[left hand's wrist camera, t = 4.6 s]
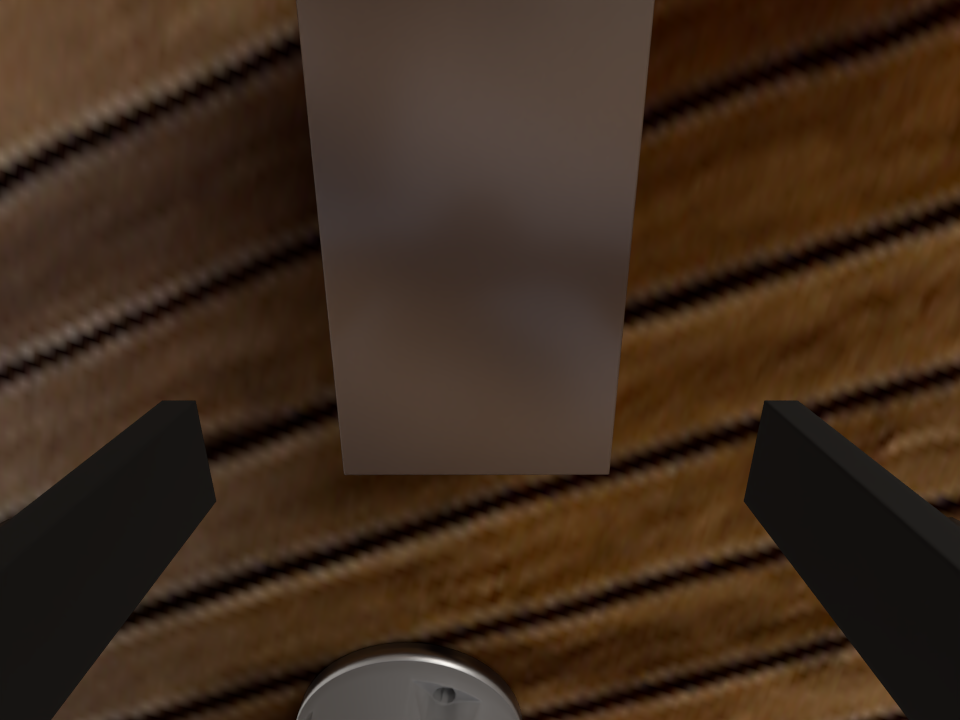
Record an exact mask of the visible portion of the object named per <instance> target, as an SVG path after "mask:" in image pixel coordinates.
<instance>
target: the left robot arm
mask: <svg viewBox="0 0 960 720" xmlns="http://www.w3.org/2000/svg"><path fill="white" fill-rule="evenodd" d="M215 502H216V498H215V493H214V488H213V483H212V478H211V474H210V469H209V464H208V459H207V454H206V449H205V444H204V440H203V435H202V430H201V425H200V420H199V415H198V410H197V405H196V401H161V402H160V403H159V404H157V405H156V406H155V407H154V408H152V409H151V410H150V411H148V412H147V413H146V414H145V415H143V416H142V417H141V418H139V419H138V420H137V421H136V422H134V423H133V424H132V425H131V426H129V427H128V428H127V429H125V430H124V431H123V432H122V433H120V434H119V435H118V436H116V437H115V438H114V439H113V440H111V441H110V442H109V443H107V444H106V445H105V446H104V447H102V448H101V449H100V450H99V451H97V452H96V453H95V454H93V455H92V456H91V457H90V458H88V459H87V460H86V461H84V462H83V463H82V464H81V465H79V466H78V467H77V468H76V469H74V470H73V471H72V472H70V473H69V474H68V475H67V476H65V477H64V478H63V479H61V480H60V481H59V482H58V483H56V484H55V485H54V486H52V487H51V488H50V489H49V490H47V491H46V492H45V493H44V494H42V495H41V496H40V497H38V498H37V499H36V500H35V501H33V502H32V503H31V504H29V505H28V506H27V507H26V508H24V509H23V510H22V511H20V512H19V513H18V514H17V515H15V516H14V517H13V518H12V519H8V520H6V521H4V522H2V523H0V720H51V719H52V718H53V716H54V715H55V714H56V712H57V711H58V710H59V708H60V707H61V706H62V704H63V703H64V702H65V701H66V699H67V698H68V697H69V695H70V694H71V693H72V691H73V690H74V689H75V687H76V686H77V685H78V683H79V682H80V681H81V679H82V678H83V677H84V675H85V674H86V673H87V671H88V670H89V669H90V667H91V666H92V665H93V663H94V662H95V661H96V660H97V658H98V657H99V656H100V654H101V653H102V652H103V650H104V649H105V648H106V646H107V645H108V644H109V642H110V641H111V640H112V638H113V637H114V636H115V634H116V633H117V632H118V630H119V629H120V628H121V626H122V625H123V624H124V622H125V621H126V620H127V619H128V617H129V616H130V615H131V613H132V612H133V611H134V609H135V608H136V607H137V605H138V604H139V603H140V601H141V600H142V599H143V597H144V596H145V595H146V593H147V592H148V591H149V589H150V588H151V587H152V585H153V584H154V583H155V581H156V580H157V579H158V578H159V576H160V575H161V574H162V572H163V571H164V570H165V568H166V567H167V566H168V564H169V563H170V562H171V560H172V559H173V558H174V556H175V555H176V554H177V552H178V551H179V550H180V548H181V547H182V546H183V544H184V543H185V542H186V540H187V539H188V538H189V537H190V535H191V534H192V533H193V531H194V530H195V529H196V527H197V526H198V525H199V523H200V522H201V521H202V519H203V518H204V517H205V515H206V514H207V513H208V511H209V510H210V509H211V507H212V506H213V505H214V503H215ZM744 502H745V503H746V505H747V506H748V507H749V509H750V510H751V511H752V513H753V514H754V515H755V517H756V518H757V519H758V521H759V522H760V523H761V525H762V526H763V527H764V529H765V530H766V531H767V533H768V534H769V535H770V537H771V538H772V539H773V540H774V542H775V543H776V544H777V546H778V547H779V548H780V550H781V551H782V552H783V554H784V555H785V556H786V558H787V559H788V560H789V562H790V563H791V564H792V566H793V567H794V568H795V570H796V571H797V572H798V574H799V575H800V576H801V578H802V579H803V580H804V581H805V583H806V584H807V585H808V587H809V588H810V589H811V591H812V592H813V593H814V595H815V596H816V597H817V599H818V600H819V601H820V603H821V604H822V605H823V607H824V608H825V609H826V611H827V612H828V613H829V615H830V616H831V617H832V619H833V620H834V621H835V622H836V624H837V625H838V626H839V628H840V629H841V630H842V632H843V633H844V634H845V636H846V637H847V638H848V640H849V641H850V642H851V644H852V645H853V646H854V648H855V649H856V650H857V652H858V653H859V654H860V656H861V657H862V658H863V660H864V661H865V662H866V663H867V665H868V666H869V667H870V669H871V670H872V671H873V673H874V674H875V675H876V677H877V678H878V679H879V681H880V682H881V683H882V685H883V686H884V687H885V689H886V690H887V691H888V693H889V694H890V695H891V697H892V698H893V699H894V701H895V702H896V703H897V704H898V706H899V707H900V708H901V710H902V711H903V712H904V714H905V715H906V716H907V718H908V719H909V720H960V521H958V520H957V519H955V518H953V517H946V516H945V515H943V514H942V513H941V512H940V511H938V510H937V509H936V508H934V507H933V506H932V505H931V504H929V503H928V502H927V501H925V500H924V499H923V498H922V497H920V496H919V495H918V494H916V493H915V492H914V491H913V490H911V489H910V488H909V487H908V486H906V485H905V484H904V483H902V482H901V481H900V480H899V479H897V478H896V477H895V476H893V475H892V474H891V473H890V472H888V471H887V470H886V469H884V468H883V467H882V466H881V465H879V464H878V463H877V462H876V461H874V460H873V459H872V458H870V457H869V456H868V455H867V454H865V453H864V452H863V451H861V450H860V449H859V448H858V447H856V446H855V445H854V444H853V443H851V442H850V441H849V440H847V439H846V438H845V437H844V436H842V435H841V434H840V433H838V432H837V431H836V430H835V429H833V428H832V427H831V426H829V425H828V424H827V423H826V422H824V421H823V420H822V419H821V418H819V417H818V416H817V415H815V414H814V413H813V412H812V411H810V410H809V409H808V408H806V407H805V406H804V405H803V404H801V403H800V402H799V401H764V405H763V410H762V415H761V420H760V425H759V430H758V435H757V439H756V444H755V449H754V454H753V459H752V464H751V469H750V474H749V478H748V483H747V488H746V493H745V498H744ZM297 720H522V716H521V710H520V707H519V704H518V701H517V699H516V697H515V695H514V693H513V692H512V690H511V689H510V687H509V686H508V685H507V683H506V682H505V681H504V680H503V679H502V678H501V677H500V676H499V675H498V674H497V673H496V672H495V671H493V670H492V669H491V668H489V667H488V666H487V665H485V664H484V663H482V662H480V661H478V660H477V659H475V658H473V657H471V656H469V655H466V654H464V653H462V652H459V651H456V650H453V649H450V648H446V647H442V646H437V645H432V644H424V643H408V642H406V643H389V644H382V645H376V646H372V647H368V648H364V649H361V650H358V651H355V652H353V653H350V654H348V655H346V656H344V657H342V658H340V659H338V660H337V661H335V662H333V663H332V664H331V665H329V666H328V667H327V668H325V669H324V670H323V671H322V672H321V673H320V674H319V675H318V676H317V677H316V678H315V679H314V680H313V682H312V683H311V685H310V686H309V688H308V689H307V691H306V693H305V695H304V698H303V701H302V704H301V707H300V710H299V713H298V716H297Z"/></svg>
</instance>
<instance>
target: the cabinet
mask: <svg viewBox="0 0 960 720" xmlns="http://www.w3.org/2000/svg"><path fill="white" fill-rule="evenodd" d="M654 1H655V0H296V5H297V15H298V25H299V35H300V45H301V54H302V64H303V74H304V84H305V94H306V104H307V114H308V123H309V133H310V143H311V153H312V163H313V173H314V182H315V192H316V202H317V212H318V222H319V232H320V241H321V251H322V261H323V271H324V281H325V291H326V301H327V310H328V320H329V330H330V340H331V350H332V360H333V369H334V379H335V389H336V399H337V409H338V419H339V428H340V438H341V448H342V458H343V468H344V475H547V474H609V469H610V458H611V448H612V438H613V427H614V417H615V406H616V396H617V386H618V375H619V365H620V354H621V344H622V334H623V323H624V313H625V303H626V292H627V282H628V271H629V261H630V251H631V240H632V230H633V219H634V209H635V199H636V188H637V178H638V168H639V157H640V147H641V136H642V126H643V116H644V105H645V95H646V84H647V74H648V64H649V53H650V43H651V32H652V22H653V12H654Z"/></svg>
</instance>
